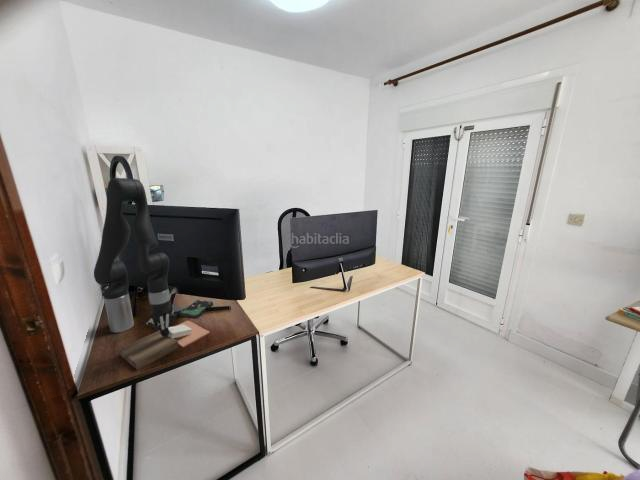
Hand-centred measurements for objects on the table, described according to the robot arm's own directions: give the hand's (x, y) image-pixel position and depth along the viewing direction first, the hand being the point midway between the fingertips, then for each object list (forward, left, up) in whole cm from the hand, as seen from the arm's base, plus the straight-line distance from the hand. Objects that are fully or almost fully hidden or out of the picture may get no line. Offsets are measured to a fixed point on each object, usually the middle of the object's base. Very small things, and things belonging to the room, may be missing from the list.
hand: (165, 335), depth 112 cm
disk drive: (-15, +25, -5) cm, 29 cm away
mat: (0, +9, -4) cm, 10 cm away
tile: (0, +5, -2) cm, 6 cm away
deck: (0, -6, -4) cm, 8 cm away
